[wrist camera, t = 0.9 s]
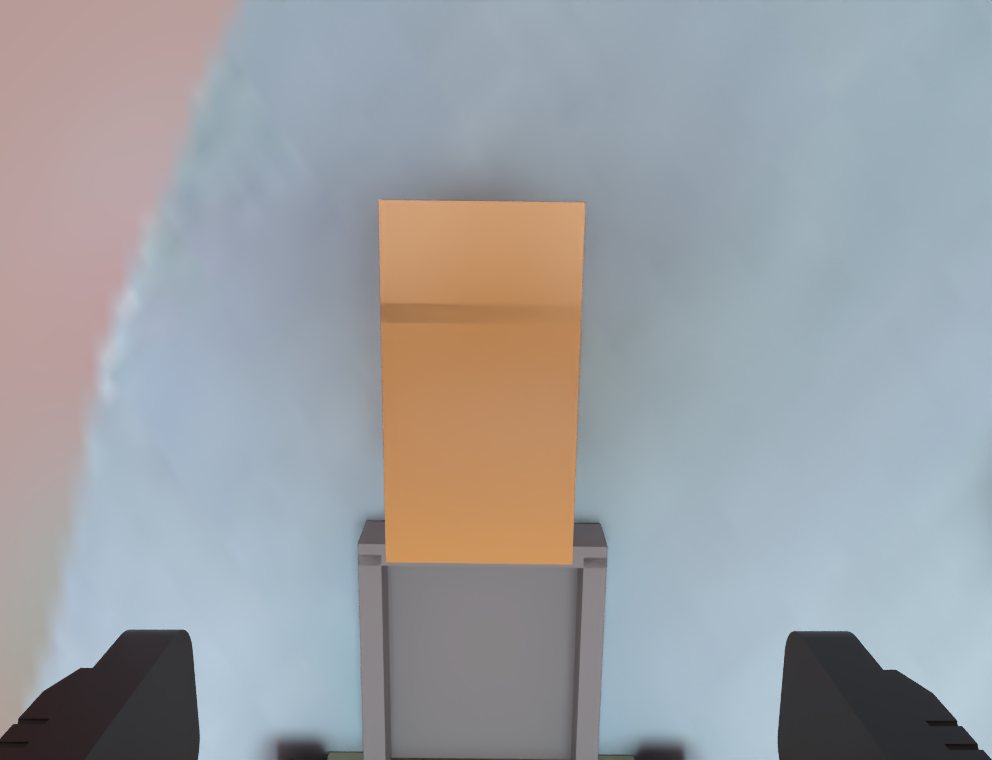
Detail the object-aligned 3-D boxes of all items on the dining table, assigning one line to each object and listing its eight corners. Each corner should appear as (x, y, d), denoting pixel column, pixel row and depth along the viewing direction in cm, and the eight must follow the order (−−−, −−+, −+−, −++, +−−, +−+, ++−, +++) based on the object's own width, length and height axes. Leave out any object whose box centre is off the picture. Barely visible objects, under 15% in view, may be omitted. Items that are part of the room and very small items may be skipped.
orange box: (411, 195, 28) (378, 199, 20) (561, 196, 28) (585, 202, 20) (415, 463, 30) (385, 562, 22) (553, 465, 30) (572, 564, 22)
